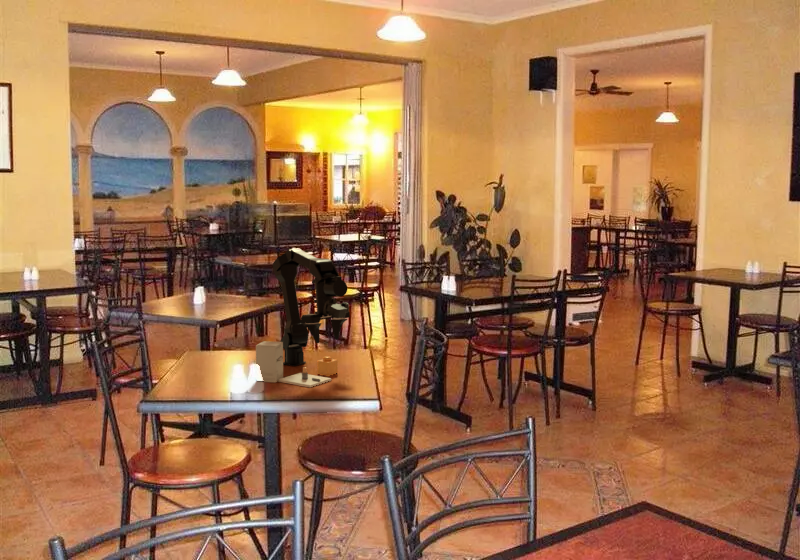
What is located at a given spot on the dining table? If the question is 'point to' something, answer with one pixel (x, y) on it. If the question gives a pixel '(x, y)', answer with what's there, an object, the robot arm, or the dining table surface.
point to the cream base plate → (304, 379)
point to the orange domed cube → (327, 366)
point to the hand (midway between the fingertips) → (327, 341)
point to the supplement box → (270, 360)
